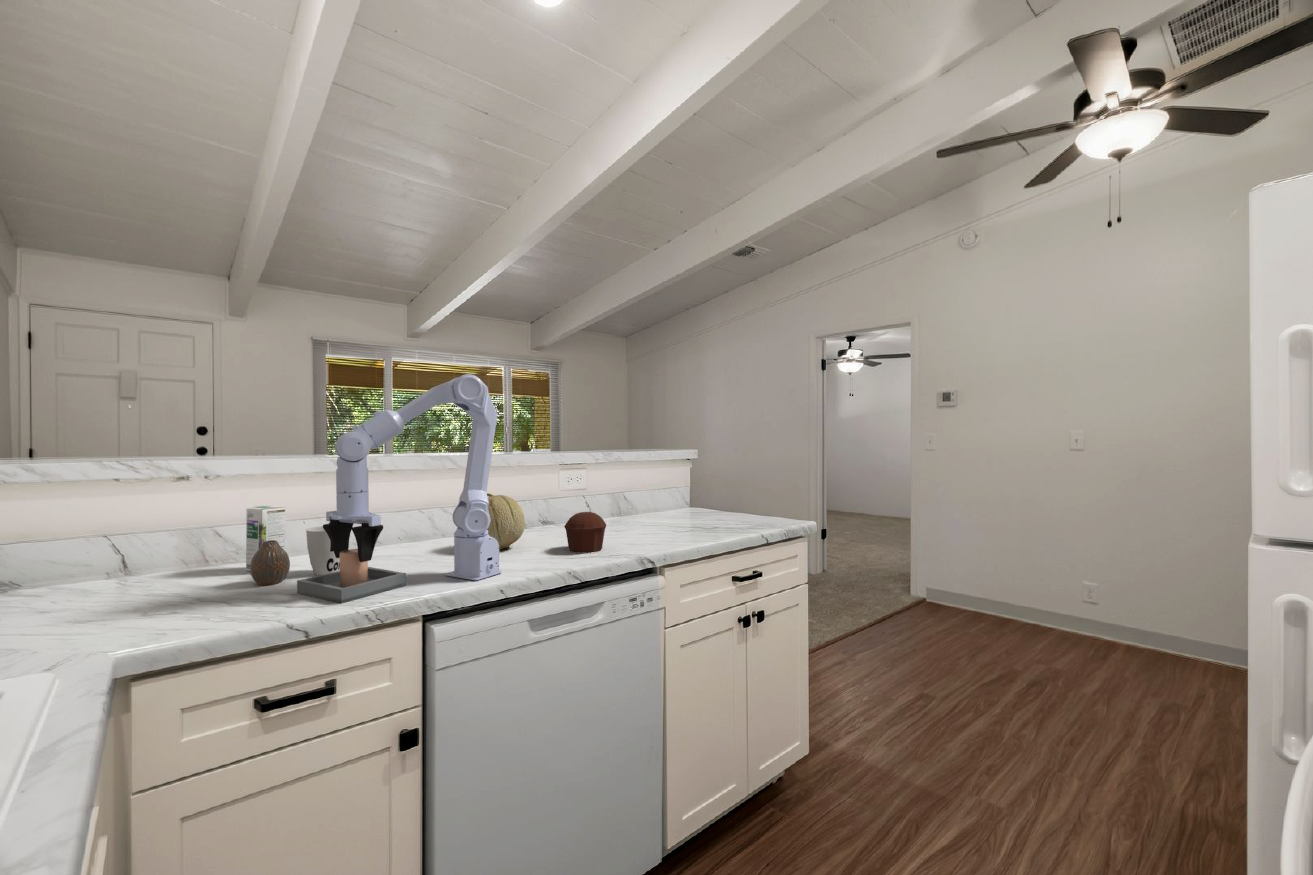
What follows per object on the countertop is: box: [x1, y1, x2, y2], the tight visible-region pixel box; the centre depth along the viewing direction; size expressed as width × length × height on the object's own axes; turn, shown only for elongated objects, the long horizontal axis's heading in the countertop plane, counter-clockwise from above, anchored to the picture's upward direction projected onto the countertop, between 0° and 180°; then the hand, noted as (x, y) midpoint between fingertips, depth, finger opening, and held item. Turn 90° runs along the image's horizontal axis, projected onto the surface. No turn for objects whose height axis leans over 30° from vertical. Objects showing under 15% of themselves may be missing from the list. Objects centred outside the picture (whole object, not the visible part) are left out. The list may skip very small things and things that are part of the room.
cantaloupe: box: [487, 492, 526, 550], centre depth 155 cm, size 15×15×15 cm
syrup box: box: [245, 505, 287, 572], centre depth 131 cm, size 6×6×14 cm
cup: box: [305, 525, 340, 576], centre depth 129 cm, size 8×8×10 cm
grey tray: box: [296, 566, 407, 604], centre depth 115 cm, size 14×14×2 cm
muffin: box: [564, 511, 607, 554], centre depth 154 cm, size 12×11×10 cm
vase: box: [249, 540, 291, 586], centre depth 120 cm, size 7×7×9 cm
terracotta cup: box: [340, 548, 369, 588], centre depth 115 cm, size 5×5×7 cm
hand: (353, 559), depth 115 cm, fingers open, 7 cm apart
